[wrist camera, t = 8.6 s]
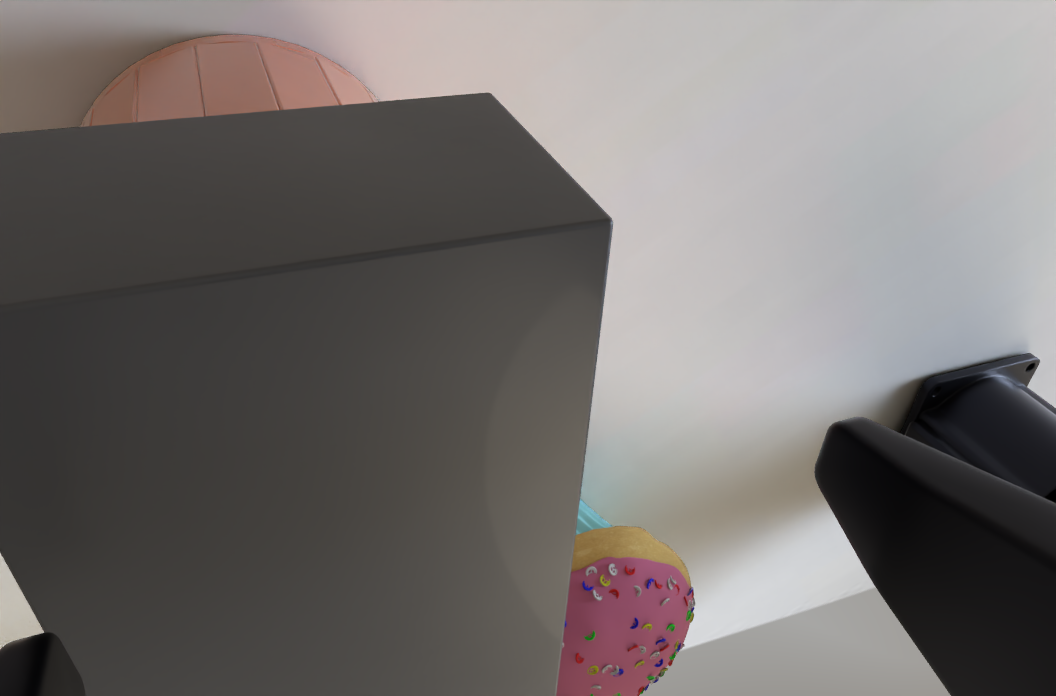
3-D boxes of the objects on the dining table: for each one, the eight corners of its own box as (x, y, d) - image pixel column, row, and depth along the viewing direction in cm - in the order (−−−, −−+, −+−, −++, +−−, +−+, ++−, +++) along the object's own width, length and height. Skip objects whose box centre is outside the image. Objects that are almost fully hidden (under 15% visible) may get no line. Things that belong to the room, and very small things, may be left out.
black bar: (491, 90, 11) (615, 219, 8) (483, 552, 17) (554, 723, 14) (-38, 134, 9) (-130, 325, 6) (164, 639, 15) (168, 860, 12)
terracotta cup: (402, 24, 18) (528, 165, 12) (416, 307, 22) (512, 510, 17) (16, 45, 15) (-67, 234, 10) (120, 356, 20) (109, 614, 14)
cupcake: (473, 633, 33) (593, 962, 24) (382, 529, 27) (495, 909, 18) (651, 532, 33) (833, 819, 25) (599, 409, 28) (811, 724, 19)
